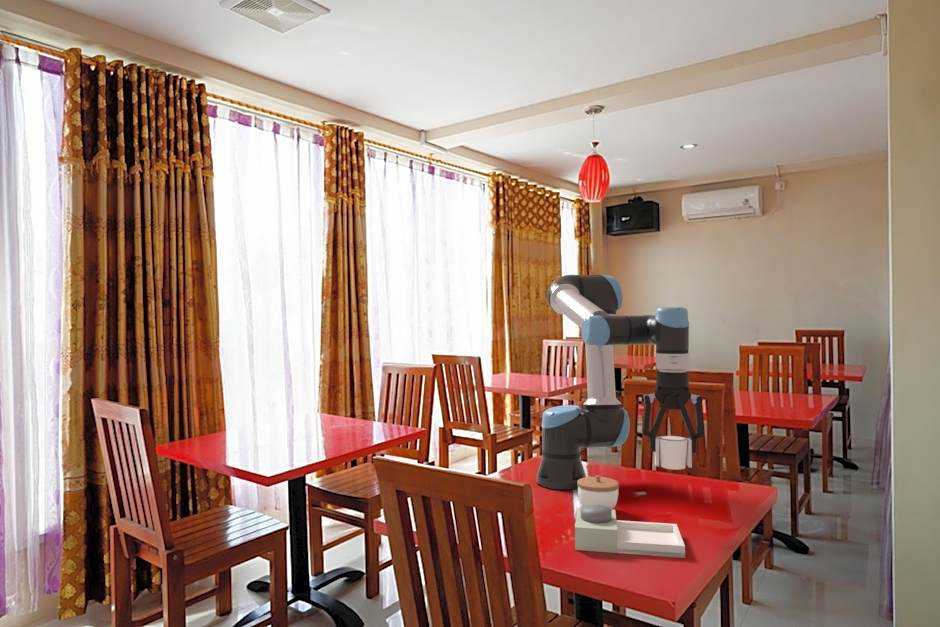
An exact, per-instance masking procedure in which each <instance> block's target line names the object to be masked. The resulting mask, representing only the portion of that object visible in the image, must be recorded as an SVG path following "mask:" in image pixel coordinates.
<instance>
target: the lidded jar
mask: <svg viewBox="0 0 940 627" xmlns="http://www.w3.org/2000/svg"><path fill="white" fill-rule="evenodd" d="M577 485H578V489H577V494H578V498H579V503H580V504H581V507H582V506H585V505H602V506H606V507H609V508H610V509H611V510H614V508H615V507H616V505H617V503H618V500H619V499H618V498H619V488H620V483H619V481H617V480H616V479H613V478H609V477H604V476H601V475H600V474H597V475H595V476H586V477H585V478H581V479H579V480H578V481H577Z"/></svg>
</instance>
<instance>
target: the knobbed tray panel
mask: <svg viewBox="0 0 940 627" xmlns="http://www.w3.org/2000/svg"><path fill="white" fill-rule="evenodd" d="M616 513H617V512H616V509H612V510H611V509H610V508H609V507H606V506H602V505H585V506H582V505H581V507H576V514H575V524H574V532H575V533H574V536H575V537H574V541H575V542H574V546H575V548H574V550H575V551H583V552H585V551H587V552H598V553H614V554H625V555H627V554H628V555H639V556H653V557H665V558H680V559H685V558H686V545H685V542H684V540H683V537H682V535H681V532H680V529H679V527H678V524H677V523H666V522H665V523H664V522H652V521H651V522H650V521H649V522H648V521H633V520H632V521H631V520H618V519H617V515H616Z"/></svg>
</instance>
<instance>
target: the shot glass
mask: <svg viewBox="0 0 940 627" xmlns="http://www.w3.org/2000/svg"><path fill="white" fill-rule="evenodd" d="M657 437H658V439H659V463H660V467H661V468H664V469H667V470H673V471H674V470H677V471H678V470H679V471H680V470H683V469H684V470H685V469H686V466H687V443H688V439H687V438H688V437H683V436H678V435H661V436H657Z"/></svg>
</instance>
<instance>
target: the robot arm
mask: <svg viewBox="0 0 940 627" xmlns="http://www.w3.org/2000/svg"><path fill="white" fill-rule="evenodd" d="M623 296H624V295H623V291H622V287H621V284H620V283H619V281H618V279H616V277H614V276H612V275H606V274H567V275H563V276H560V277H558V278H556V279H555V280H554V281H553V282H552V283H551V284H550V285H549V287H548V289H547V292H546V300H547V303H548V305H549V307H550V308H551V309H552V310H553V311H554V312H555V313H556V314H559V315H564V316H565V317H567V318H568V319H569V320H571V321H572V322H573V323H574V324H575V325H576V326H578V327H579V328H580V335H581V338H582V340H583V342H584V345H585V367H586V386H587V388H586V389H587V398H586V400H585V401H584V402H583V403H582V405H583V409H581V407H580V406H579V405H576V404H569V405H568V404H567V405H566V404H565V405H558V406H553V407H549V408H547V409H545V410H544V411H543V413H542V416H541V418H542V420H541V433H542V434H541V439H542V440H541V443H542V444H541V445H542V446H541V447H542V448H541V449H542V450H541V454H542V456H541V461H540V464H539V467H538V470H537V473H536V483H537V482H538V483H539V484H540V485H542V486H541V487H543V486H545V487H544V488H546V487H547V489H552V490H565V491H566V490H567V491H568V490H569V491H570V490H578V485H577V481H578V480H579V479H581V478H585V477H587V474H586V472H585V468H584V466H583V463H582V458H581V450H582V449H590V448H612V447H613V448H614V447H619V446H622V445H623V444H624V443H625V442H627V441H626V440H627V439H628V437H629V433H630V429H631V428H630V426H631V424H630V423H631V422H630V417H629V413H628V411H627V410H626V409H625V408H623V407H622V402H621V401H619V400H618V399H617V397H616V395H617V394H616V378H615V376H616V375H615V374H616V373H615V360H614V346H624V345H625V346H626V345H627V346H628V345H630V346H632V345H633V346H635V345H638V346H639V345H640V346H642V345H644V346H645V345H649V346H650V345H652V346H654V345H655V362H656V363H655V368H656V369H657V371H656V373H655V380H656V381H655V386H656V388H655V390H654V392H653V393H650V394H647V393H645V394H643V401H644V410H643V411H644V412H643V421H642V427H641V428H642V429H641V430H642V435H643V436H645V437H648V438H649V449H650V451H651V452H653V453H654V465H655V467H660V452H659V439H658V437H659V436H657V435H658V432H659V430H660V426H661V424H662V422H663V419H664V417H665V415H666V414H665V413H666V411H668V410H677V411H678V410H679V412H680V416H681V418H682V420H683V423H684V425H685V428H686V430H687V433H688V435H689V437H686V438H687V439H688V443H687V455H686V466H687V467H688V468H691V469H692V468H693V456H692V455H693V454H696V453H697V440H698V439H700V438H704V437H705V428H704V421H703V420H704V419H703V413H702V404H703V399H704V397H703V396H701V395H700V394H697V395H696V394H692V393H691V391H690V387H689V386H690V373H689V372H688V370H689V368H690V367H689V366H690V365H689V364H690V363H689V360H690V359H689V348H690V347H689V344H690V342H689V336H690V334H689V333H690V332H689V330H690V322H689V312H688V309H687V308H685V307H680V306H679V307H676V306H675V307H672V306H671V307H670V306H669V307H657V309H656V310H655V315H651V314H648V315H646V314H645V315H644V314H643V315H642V314H641V315H617V312H618V311H620V310H621V308H622V306H623V303H624V302H623V300H624V298H623ZM654 399H656V401H658V402H659V404H660V405H659V408H658V411H657V413H656V416H655V419H654V421H653V425H652V426H651V429H650V430H649V428H650V421H651V420H650V419H651V412H652V404H653V403H654ZM690 400H691V403H692V404H693V406H694V407H693V408H694V410H693V411H694V416H695V424H696V425H695V426H696V432H695V429H694V427H693V425H692V421H691V419H690V417H689V414H688V410H687V409H686V404H687V403H688V402H689V401H690ZM540 485H539V486H540Z"/></svg>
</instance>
